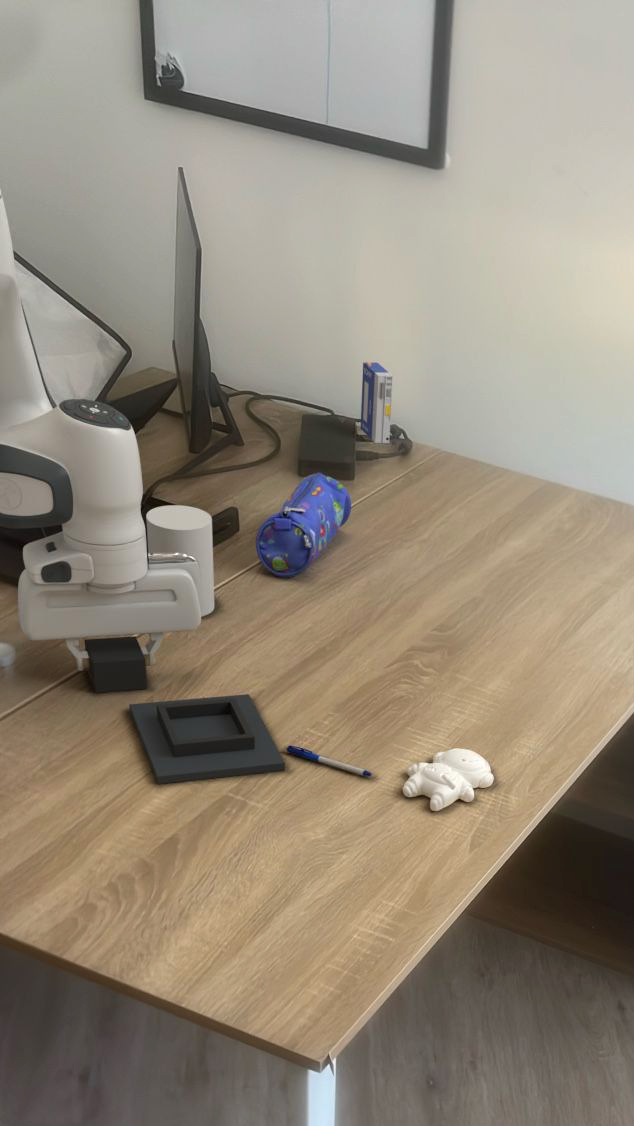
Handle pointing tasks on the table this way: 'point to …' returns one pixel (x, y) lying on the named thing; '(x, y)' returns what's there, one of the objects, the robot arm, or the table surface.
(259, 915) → the table surface
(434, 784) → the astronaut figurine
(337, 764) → the ballpoint pen
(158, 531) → the cup
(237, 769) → the socket base plate
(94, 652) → the black box
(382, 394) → the walkman
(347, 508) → the pencil case
